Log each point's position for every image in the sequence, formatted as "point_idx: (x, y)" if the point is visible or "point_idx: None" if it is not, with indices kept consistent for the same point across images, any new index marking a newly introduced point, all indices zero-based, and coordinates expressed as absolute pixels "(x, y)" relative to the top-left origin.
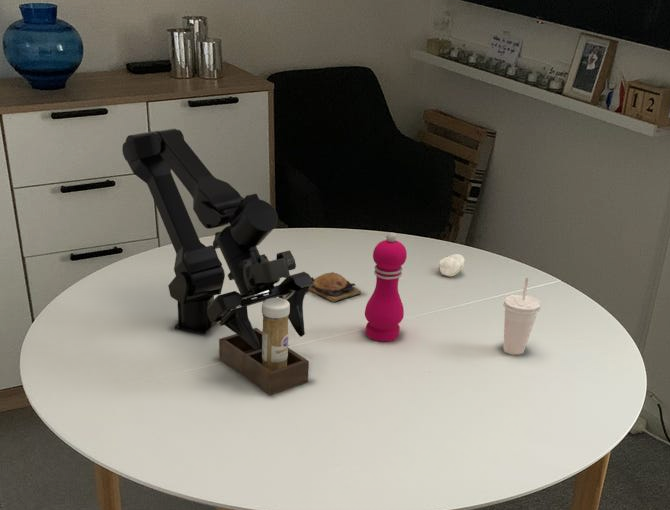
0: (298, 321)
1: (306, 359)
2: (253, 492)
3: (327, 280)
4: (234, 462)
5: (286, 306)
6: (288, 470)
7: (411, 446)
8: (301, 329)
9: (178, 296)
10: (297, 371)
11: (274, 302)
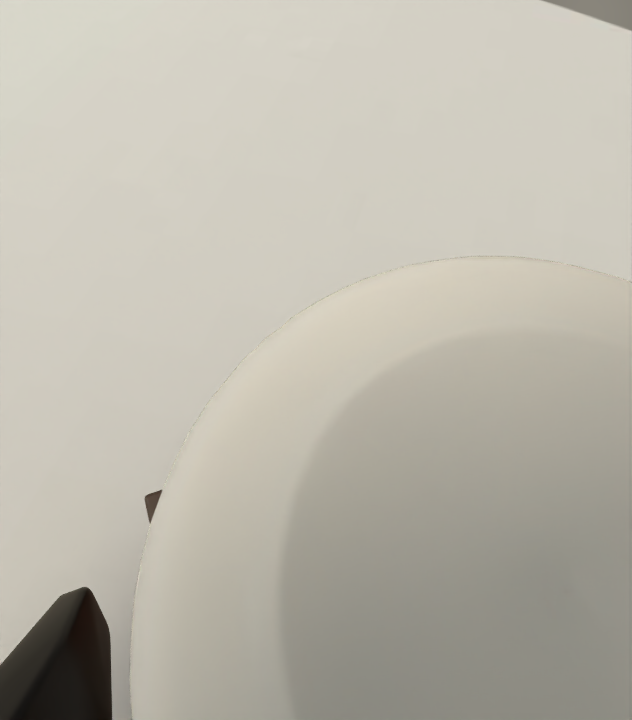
0: (38, 712)
1: (151, 519)
2: (536, 25)
3: None
4: (583, 116)
5: (319, 300)
6: (435, 64)
7: (54, 69)
8: (71, 616)
9: None
10: None
11: (623, 626)
